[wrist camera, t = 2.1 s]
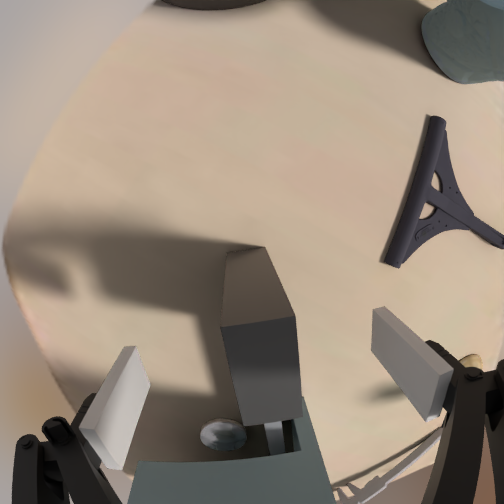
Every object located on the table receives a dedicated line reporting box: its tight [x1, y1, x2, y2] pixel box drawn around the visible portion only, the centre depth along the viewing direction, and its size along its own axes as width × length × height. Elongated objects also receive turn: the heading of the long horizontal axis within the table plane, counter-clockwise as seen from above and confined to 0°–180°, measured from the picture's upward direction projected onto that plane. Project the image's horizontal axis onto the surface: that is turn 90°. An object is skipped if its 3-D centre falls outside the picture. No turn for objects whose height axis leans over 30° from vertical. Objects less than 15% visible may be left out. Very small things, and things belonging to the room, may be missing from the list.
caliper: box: [337, 427, 443, 504], centre depth 30 cm, size 20×1×6 cm, turn 125°
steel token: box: [200, 418, 247, 451], centre depth 28 cm, size 5×5×1 cm
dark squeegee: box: [384, 116, 504, 268], centre depth 23 cm, size 14×15×3 cm
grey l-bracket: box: [221, 247, 303, 456], centre depth 20 cm, size 20×3×12 cm, turn 8°
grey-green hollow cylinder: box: [421, 0, 504, 84], centre depth 13 cm, size 10×10×12 cm
